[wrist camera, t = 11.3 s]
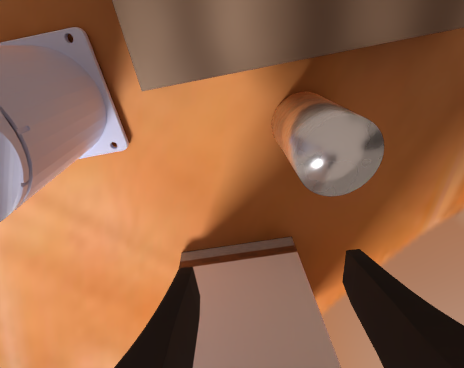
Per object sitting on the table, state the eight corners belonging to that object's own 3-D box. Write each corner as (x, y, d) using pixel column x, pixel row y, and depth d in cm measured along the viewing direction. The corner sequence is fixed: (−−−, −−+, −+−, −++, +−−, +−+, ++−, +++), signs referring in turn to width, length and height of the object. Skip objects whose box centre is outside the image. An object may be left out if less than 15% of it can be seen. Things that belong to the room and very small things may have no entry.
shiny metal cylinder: (274, 155, 21) (298, 202, 15) (268, 98, 19) (294, 124, 12) (331, 145, 21) (380, 188, 14) (331, 86, 18) (388, 106, 12)
